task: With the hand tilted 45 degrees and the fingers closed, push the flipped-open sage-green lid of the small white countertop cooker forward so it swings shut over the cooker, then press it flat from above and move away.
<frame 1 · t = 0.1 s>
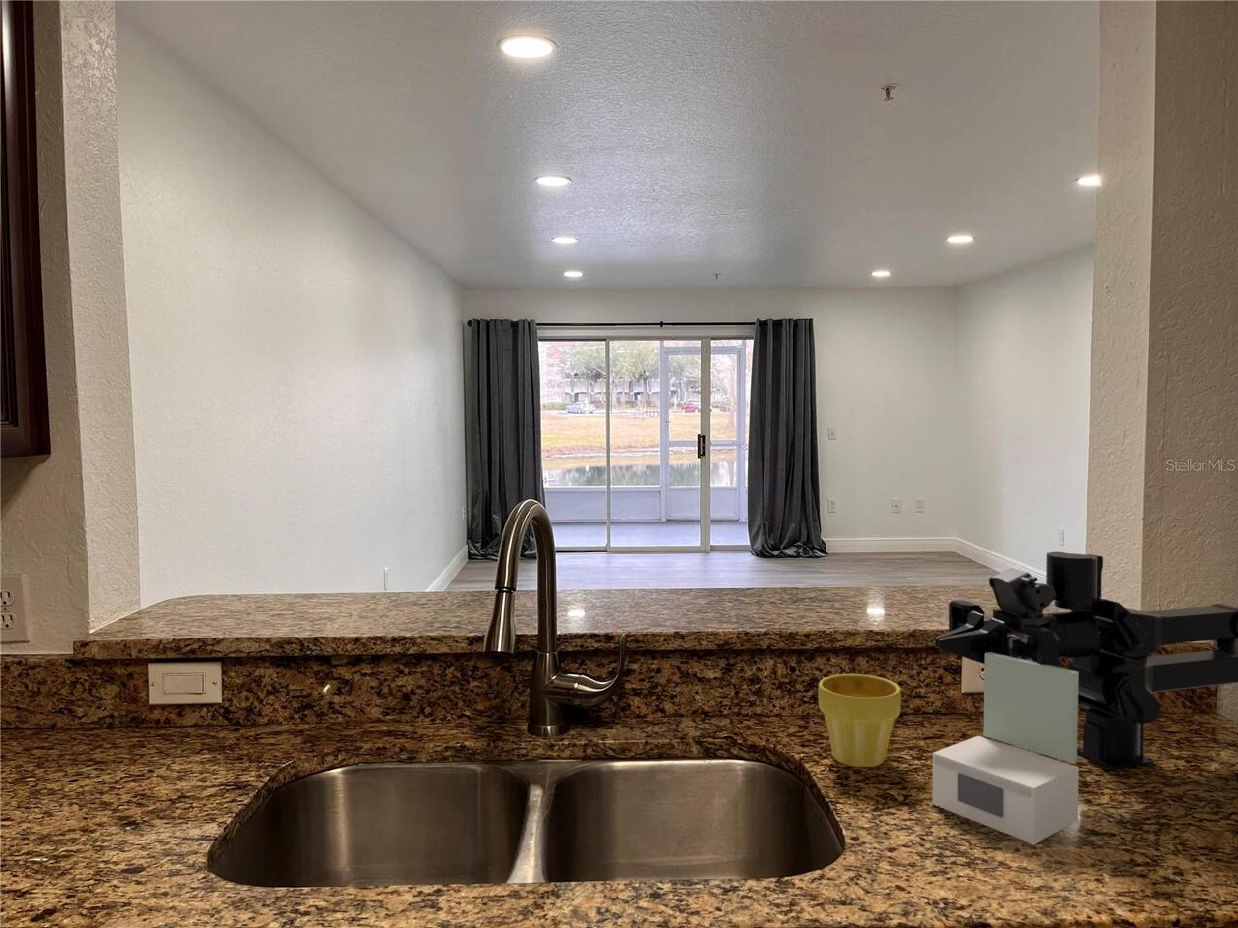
hand: (937, 643, 106), 17 cm above the worktop, tool horizontal, fingers closed
lid: (1030, 704, 100), point 11 cm above the worktop, hinge at 91.1°, touching gripper
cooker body: (1025, 801, 100), on the worktop
plant pot: (859, 759, 114), on the worktop
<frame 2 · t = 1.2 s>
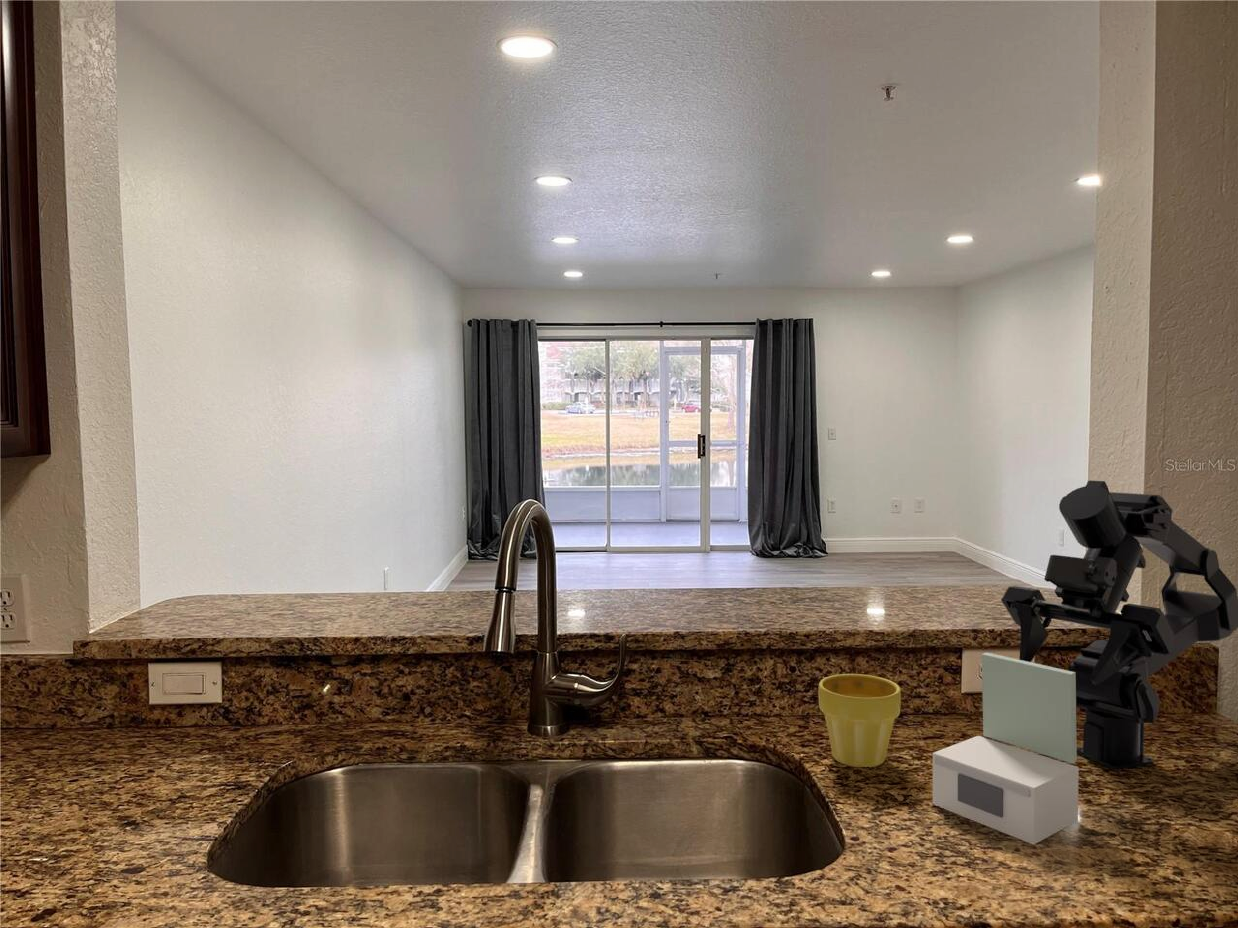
hand: (1056, 673, 103), 14 cm above the worktop, tool tilted 45°, fingers open, 8 cm apart
lid: (1029, 704, 100), point 11 cm above the worktop, hinge at 87.3°
everything else where it was.
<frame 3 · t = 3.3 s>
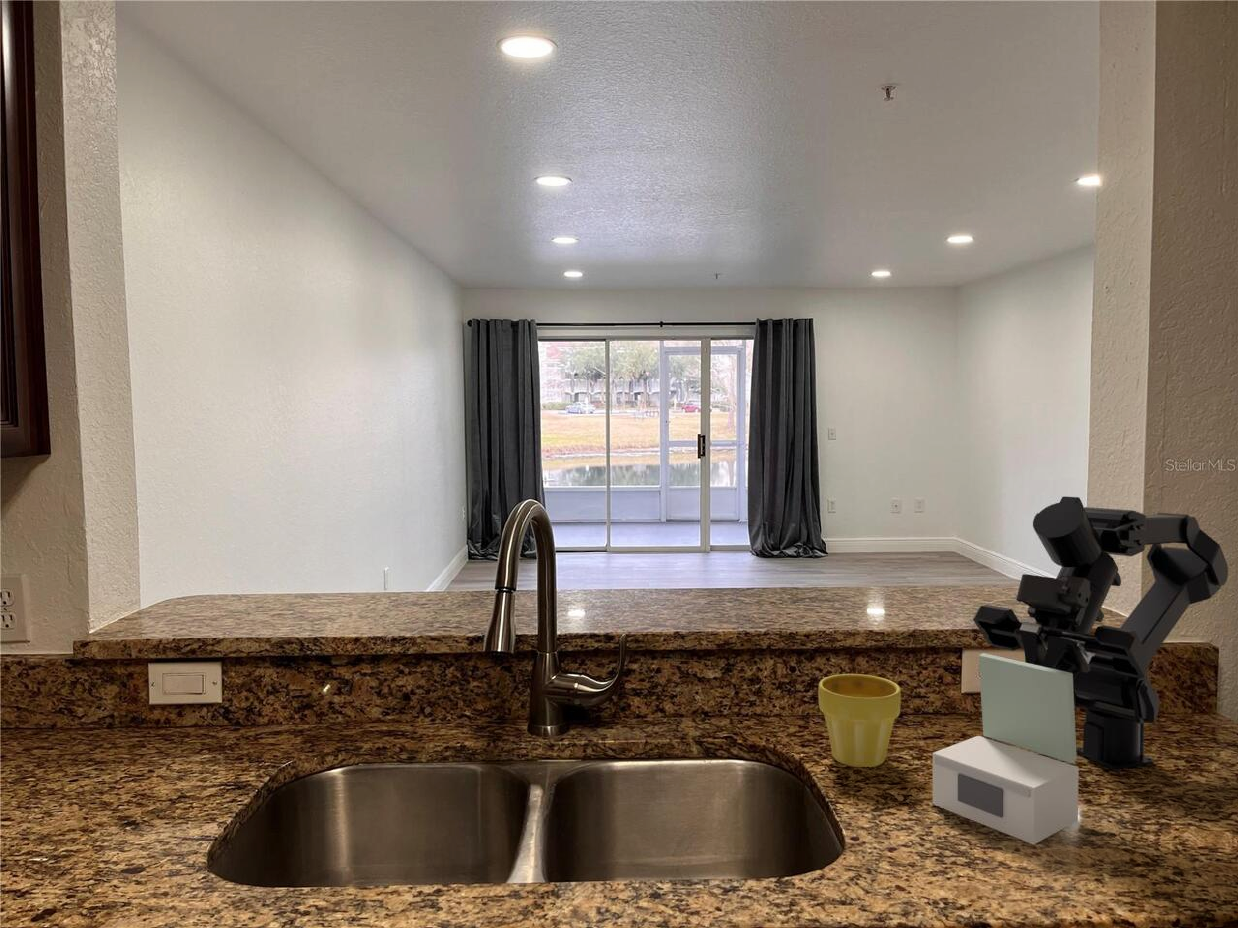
hand: (1028, 697, 100), 12 cm above the worktop, tool tilted 45°, fingers closed, pressing on lid
lid: (1027, 704, 100), point 11 cm above the worktop, hinge at 83.6°, touching gripper
everything else where it was.
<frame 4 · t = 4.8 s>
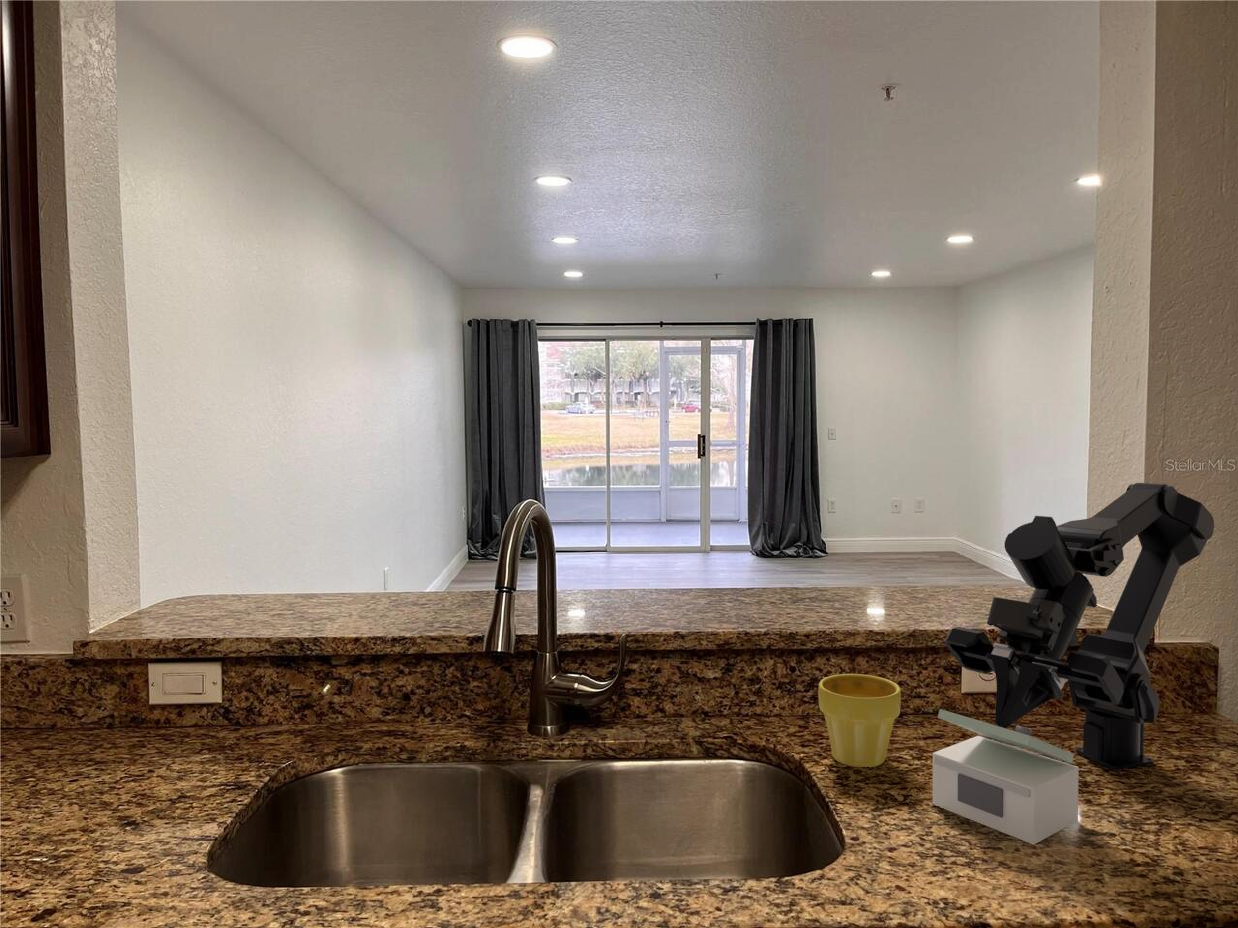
hand: (999, 725, 96), 10 cm above the worktop, tool tilted 45°, fingers closed
lid: (1005, 731, 97), point 9 cm above the worktop, hinge at 24.4°
everything else where it was.
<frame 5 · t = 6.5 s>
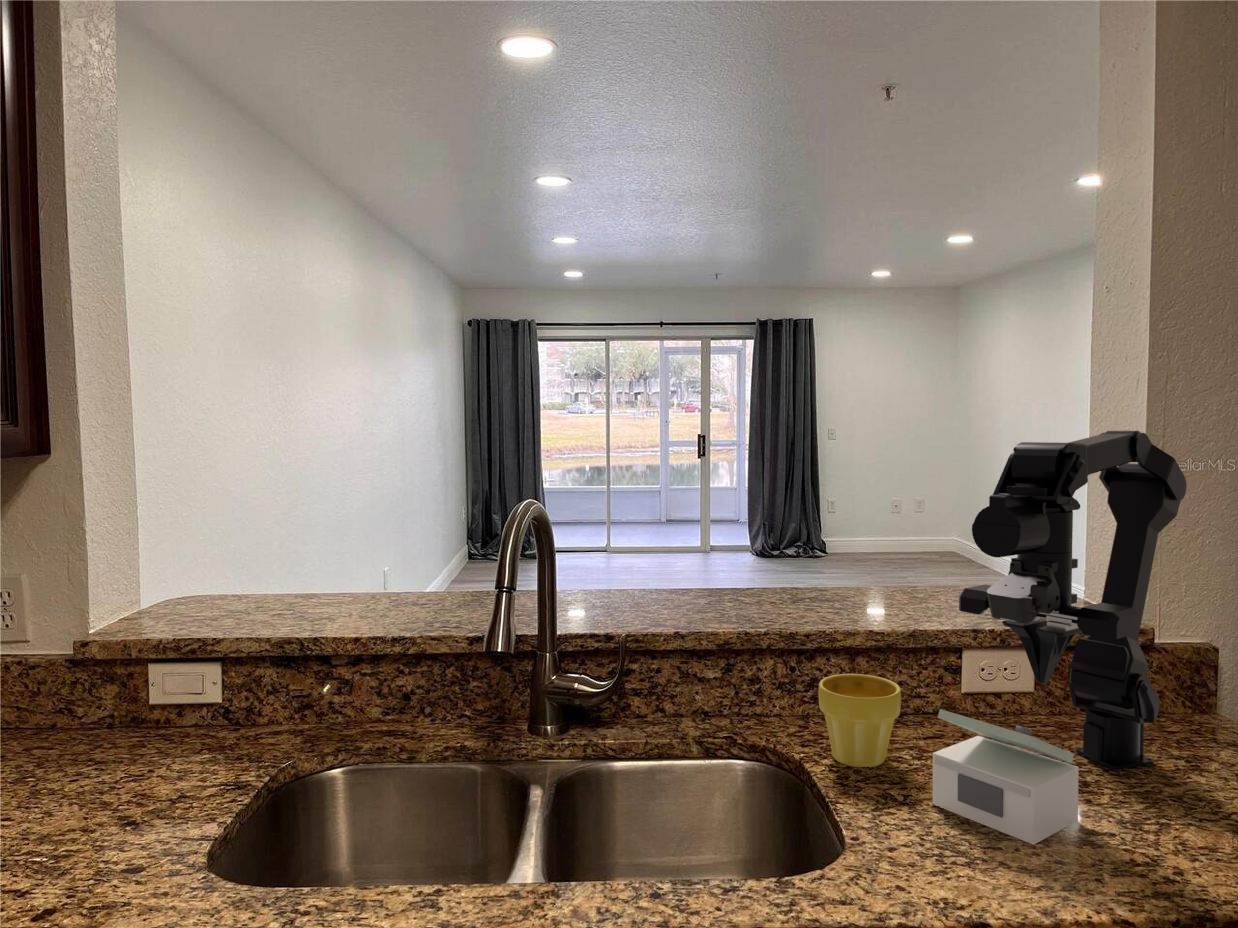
hand: (1042, 682, 101), 13 cm above the worktop, tool pointing down, fingers closed
nothing on the worktop moved.
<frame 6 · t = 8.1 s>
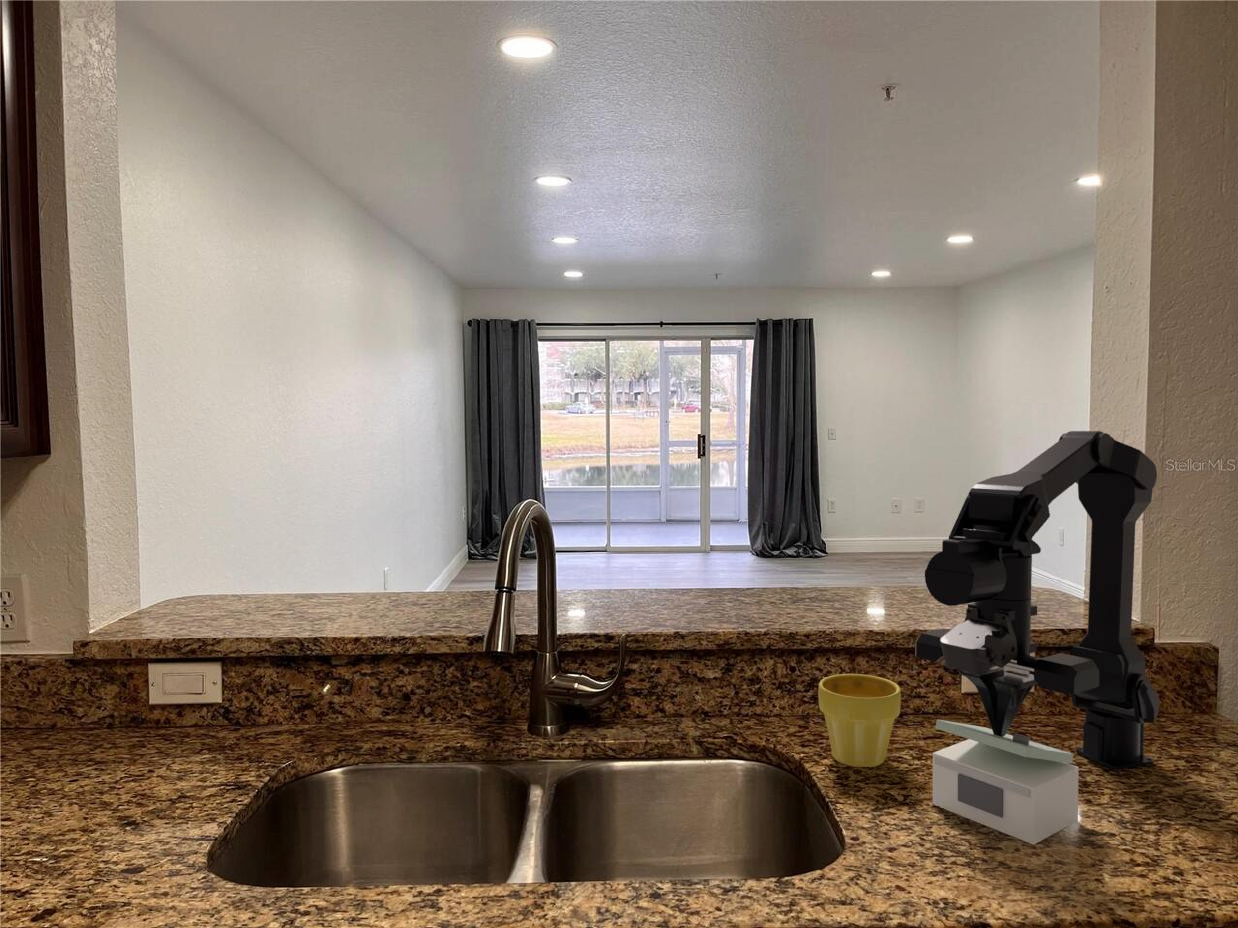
hand: (999, 735, 96), 9 cm above the worktop, tool pointing down, fingers closed, pressing on lid
lid: (1004, 737, 97), point 9 cm above the worktop, hinge at 17.4°, touching gripper
everything else where it was.
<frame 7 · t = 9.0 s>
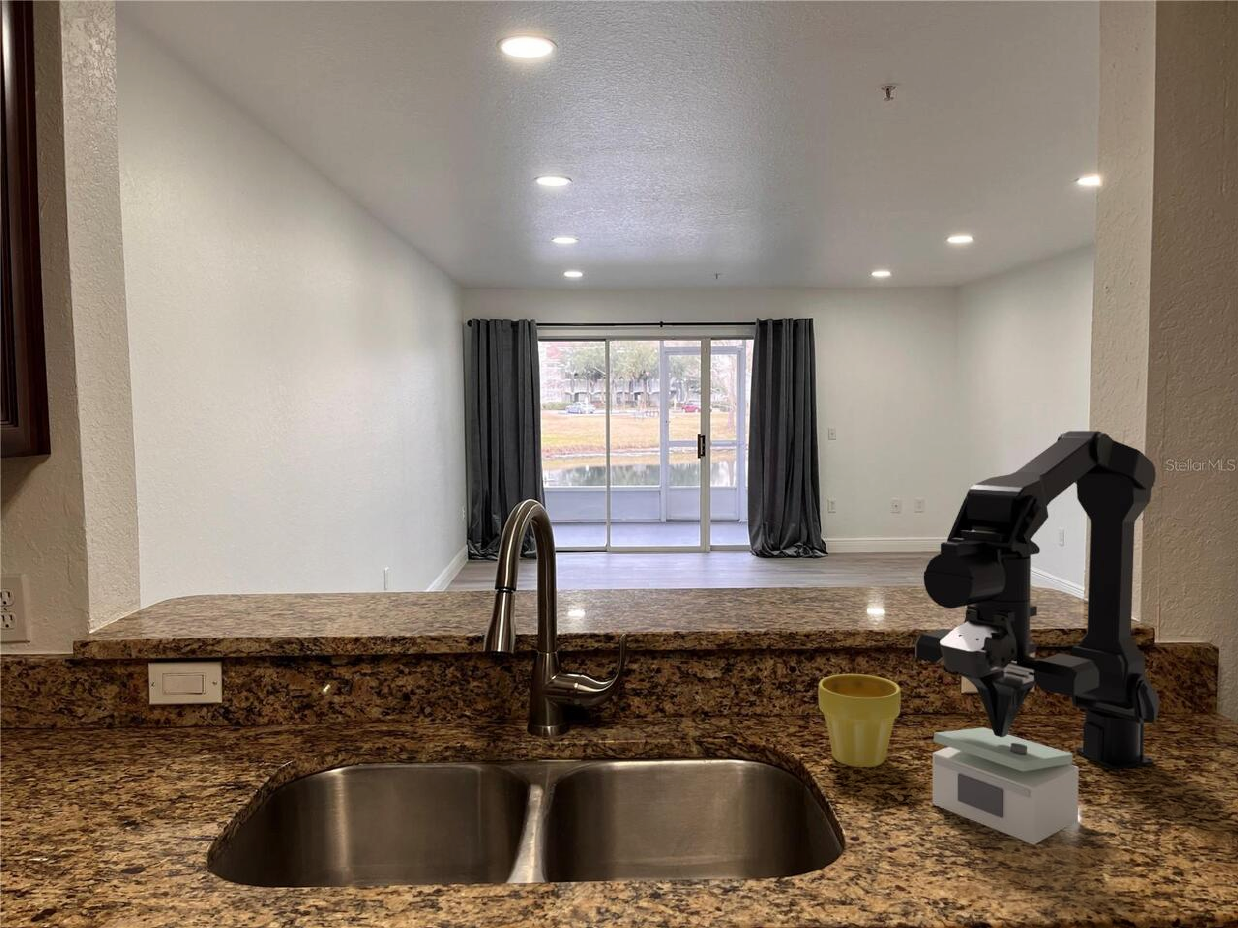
hand: (1000, 735, 97), 9 cm above the worktop, tool pointing down, fingers closed
lid: (1002, 744, 97), point 8 cm above the worktop, hinge at 8.8°
everything else where it was.
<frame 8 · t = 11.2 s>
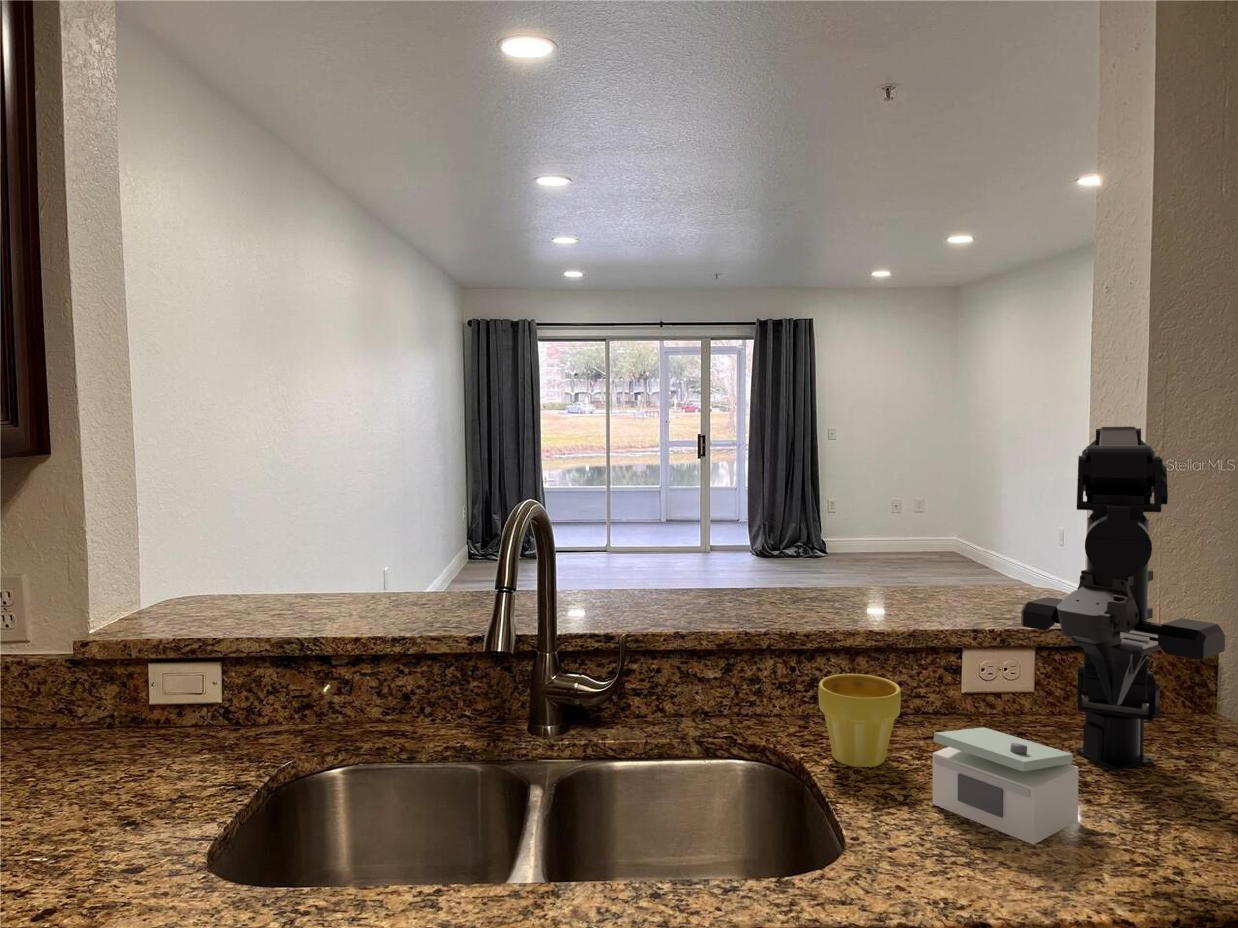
hand: (1115, 703, 94), 13 cm above the worktop, tool pointing down, fingers closed
nothing on the worktop moved.
at the end: lid at +9° (first picture: +92°) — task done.
